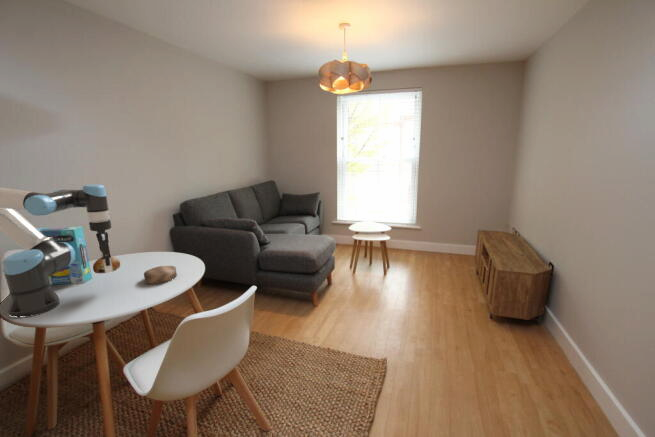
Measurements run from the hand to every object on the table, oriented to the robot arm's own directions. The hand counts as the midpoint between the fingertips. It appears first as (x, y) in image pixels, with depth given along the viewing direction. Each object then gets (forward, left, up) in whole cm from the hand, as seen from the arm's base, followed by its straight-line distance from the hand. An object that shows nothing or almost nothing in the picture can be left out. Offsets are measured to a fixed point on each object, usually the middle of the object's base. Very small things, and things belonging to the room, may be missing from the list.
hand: (107, 268), depth 137 cm
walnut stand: (+20, 0, -11) cm, 23 cm away
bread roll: (0, 0, -1) cm, 1 cm away
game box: (-16, +28, -11) cm, 34 cm away
